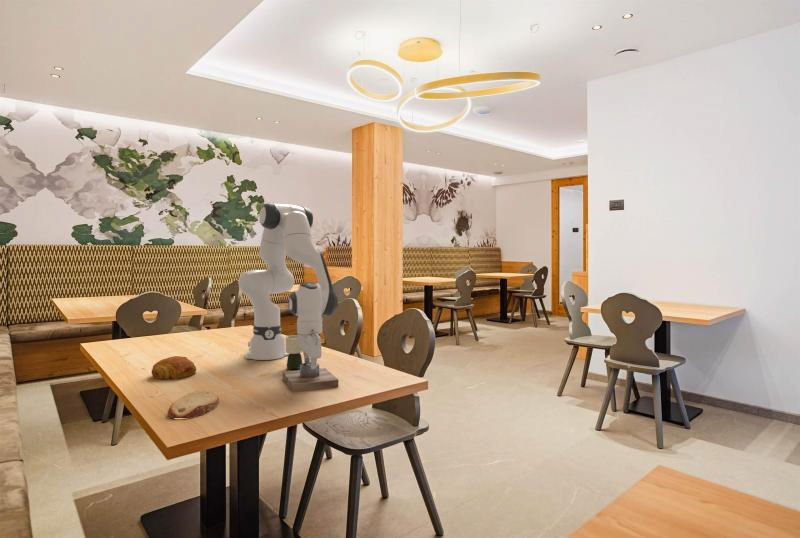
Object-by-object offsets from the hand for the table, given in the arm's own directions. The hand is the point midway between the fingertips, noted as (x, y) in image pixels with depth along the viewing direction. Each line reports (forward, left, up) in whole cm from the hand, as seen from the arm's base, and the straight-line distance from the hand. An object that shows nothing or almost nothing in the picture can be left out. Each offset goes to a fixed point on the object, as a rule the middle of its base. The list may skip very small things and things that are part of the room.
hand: (309, 365), depth 171 cm
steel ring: (0, 0, -4) cm, 4 cm away
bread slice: (+12, -39, -7) cm, 41 cm away
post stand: (0, 0, -6) cm, 6 cm away
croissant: (-29, -45, -6) cm, 54 cm away
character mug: (-22, -1, -6) cm, 23 cm away
